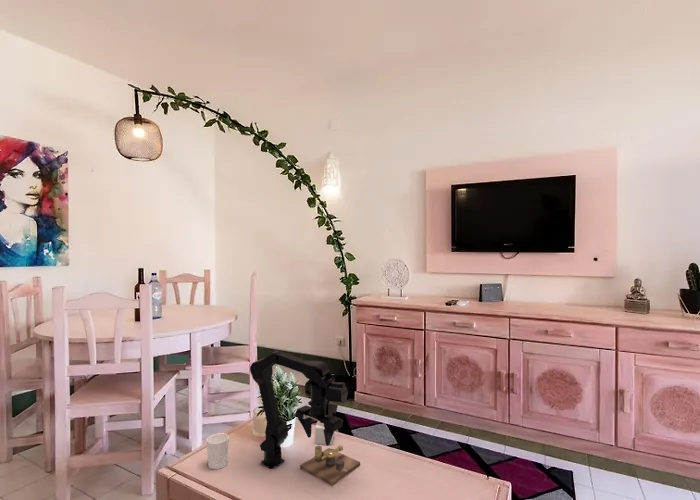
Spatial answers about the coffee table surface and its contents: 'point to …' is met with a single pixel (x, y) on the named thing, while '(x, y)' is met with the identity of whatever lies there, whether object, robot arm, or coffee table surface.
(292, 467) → the coffee table surface
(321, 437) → the medicine bottle
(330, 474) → the post base
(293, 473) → the coffee table surface
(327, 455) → the crank handle
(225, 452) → the white cup
